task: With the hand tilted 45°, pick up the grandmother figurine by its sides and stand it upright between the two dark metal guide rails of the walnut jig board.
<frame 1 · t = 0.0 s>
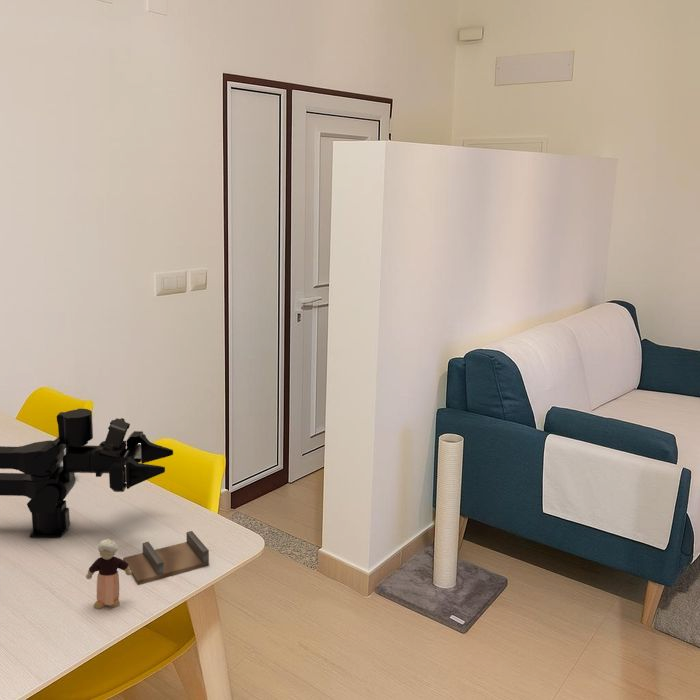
hand: (169, 460, 153), 17 cm above the table, tool horizontal, fingers open, 9 cm apart
toy figure: (64, 481, 180), on the table
walnut jig: (175, 561, 146), on the table
grandmother figurine: (110, 604, 132), on the table
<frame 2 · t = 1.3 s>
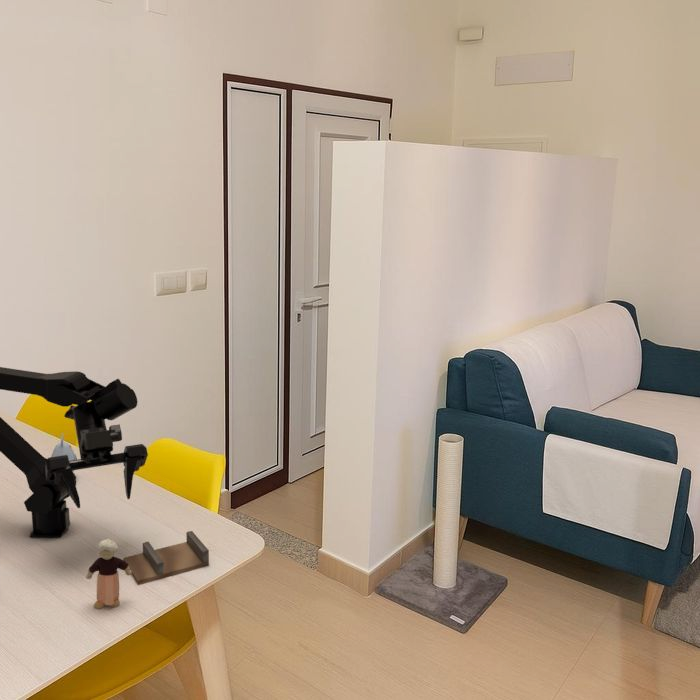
hand: (104, 502, 140), 14 cm above the table, tool tilted 45°, fingers open, 9 cm apart
nothing on the table moved.
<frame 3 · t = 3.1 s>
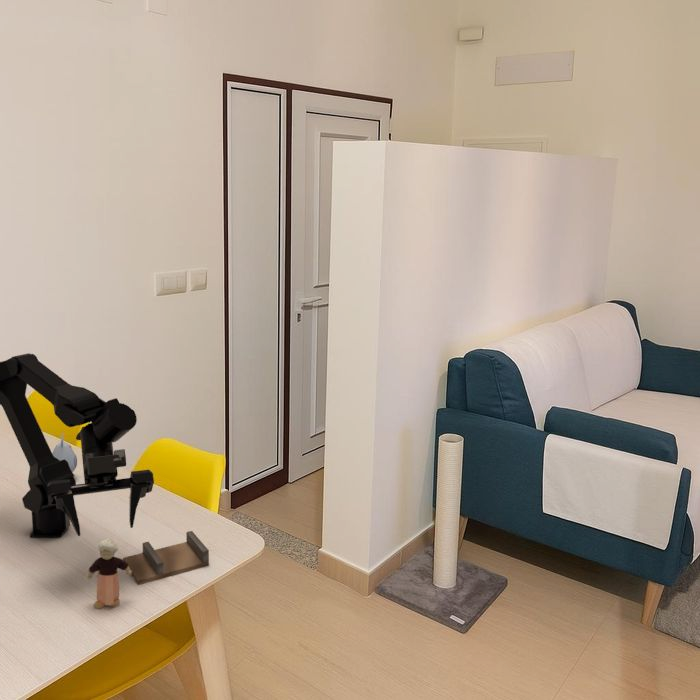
hand: (105, 531, 133), 12 cm above the table, tool tilted 45°, fingers open, 9 cm apart
nothing on the table moved.
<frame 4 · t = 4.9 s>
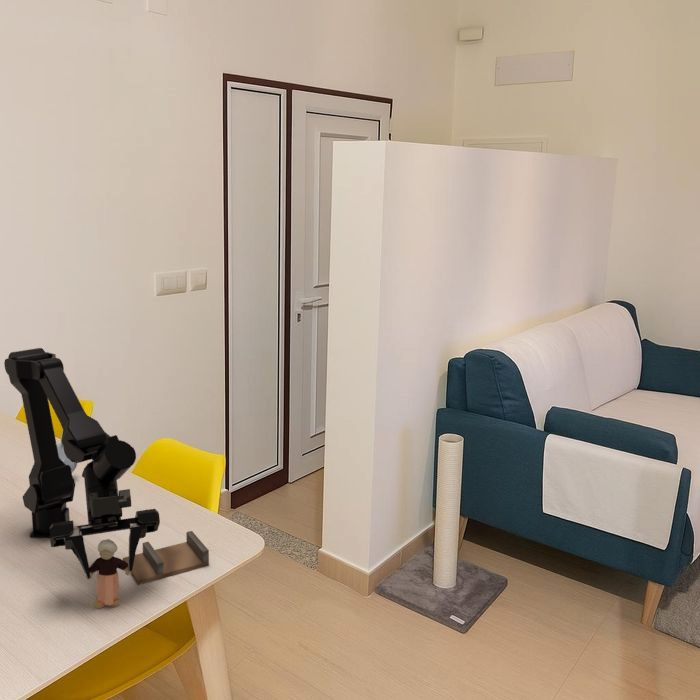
hand: (110, 574, 129), 7 cm above the table, tool tilted 45°, fingers closed on grandmother figurine, 7 cm apart
grandmother figurine: (110, 604, 131), on the table, touching gripper
everything else where it was.
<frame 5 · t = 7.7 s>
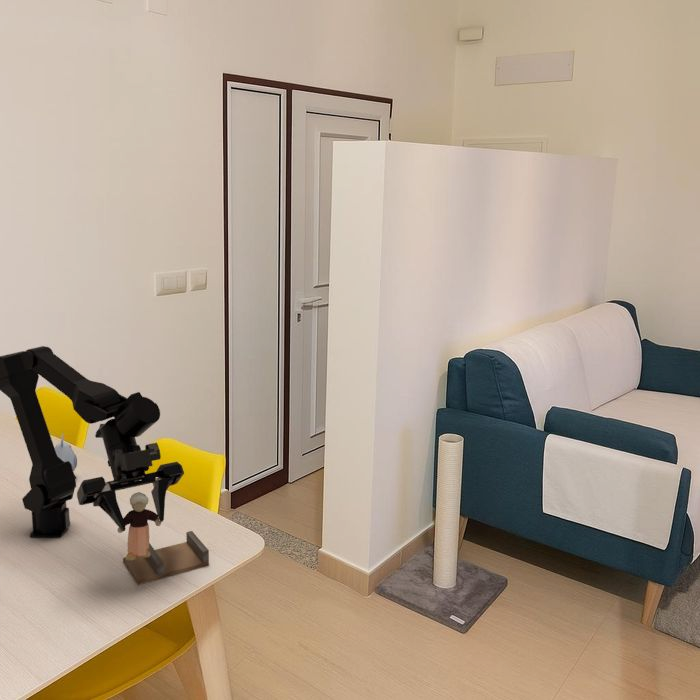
hand: (143, 525, 133), 13 cm above the table, tool tilted 45°, fingers closed on grandmother figurine, 7 cm apart
grandmother figurine: (140, 556, 135), point 6 cm above the table, touching gripper
everything else where it was.
when the fingers open (9 cm above the table, at t = 10.5 s): grandmother figurine drops 1 cm, resting on walnut jig.
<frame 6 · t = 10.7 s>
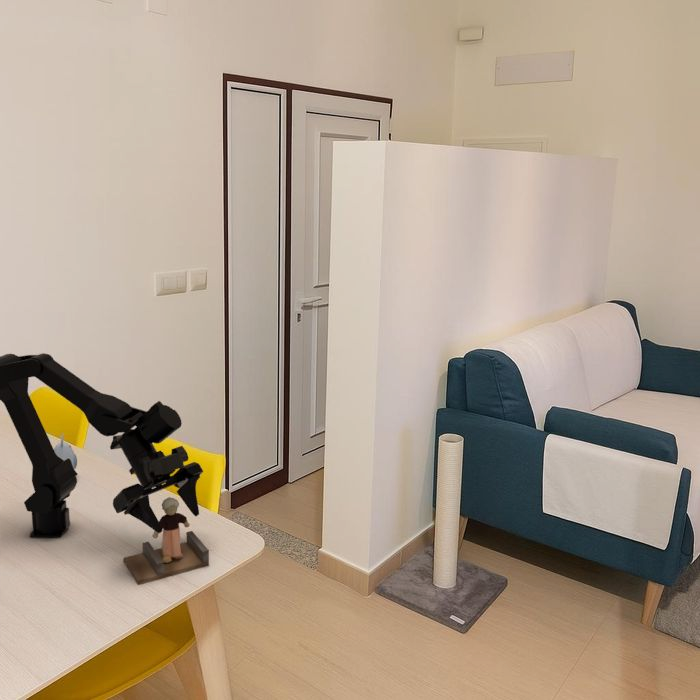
hand: (179, 523, 143), 9 cm above the table, tool tilted 45°, fingers open, 9 cm apart
grandmother figurine: (174, 558, 146), point 1 cm above the table, touching walnut jig
everything else where it was.
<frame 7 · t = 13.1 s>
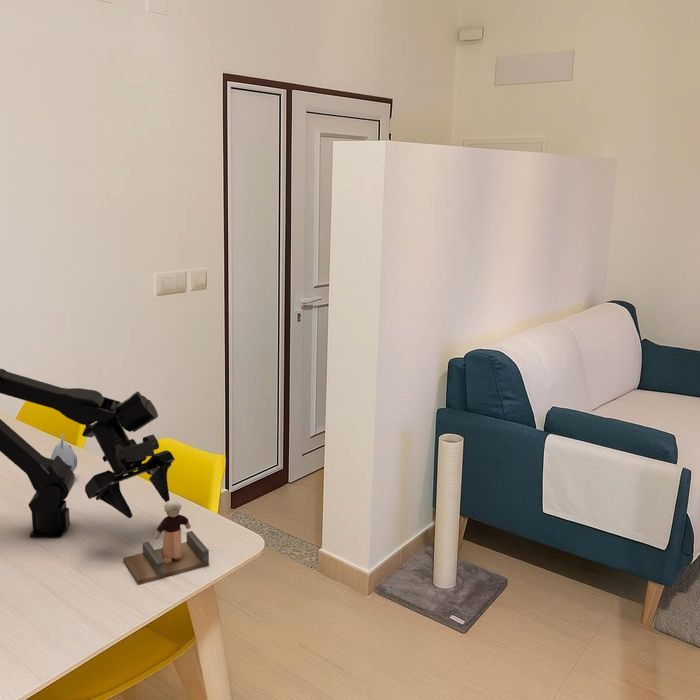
hand: (150, 509, 148), 9 cm above the table, tool tilted 45°, fingers open, 9 cm apart
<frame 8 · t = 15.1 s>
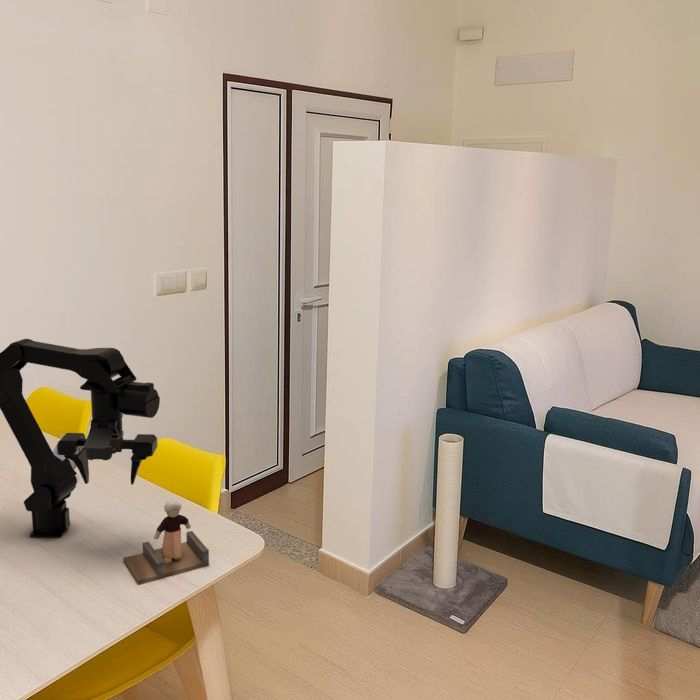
hand: (109, 483, 150), 13 cm above the table, tool pointing down, fingers open, 9 cm apart
nothing on the table moved.
at the end: grandmother figurine 0.3 cm off-centre on the walnut jig, point 0.6 cm above the walnut jig's base; grandmother figurine tilted 0°; the gripper is holding nothing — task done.
